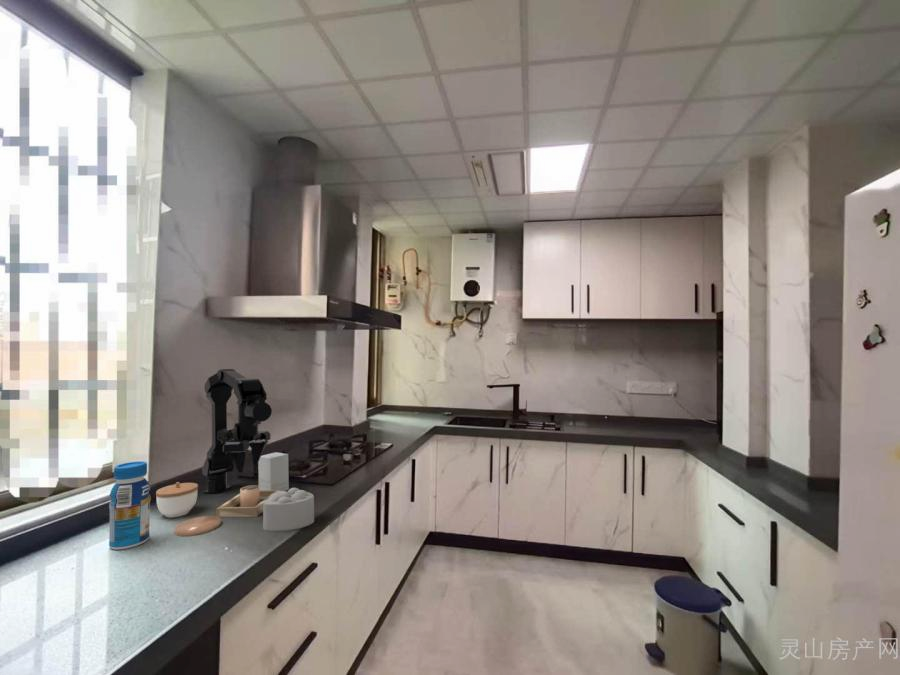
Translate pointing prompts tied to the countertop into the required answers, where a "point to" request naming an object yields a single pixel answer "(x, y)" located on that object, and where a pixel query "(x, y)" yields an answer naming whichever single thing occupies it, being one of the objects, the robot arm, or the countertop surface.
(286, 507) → the lumpy-topped squat cylinder
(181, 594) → the countertop surface
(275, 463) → the supplement box
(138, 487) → the beverage bottle
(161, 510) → the lidded jar
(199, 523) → the terracotta saucer
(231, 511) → the wooden frame
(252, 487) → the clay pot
